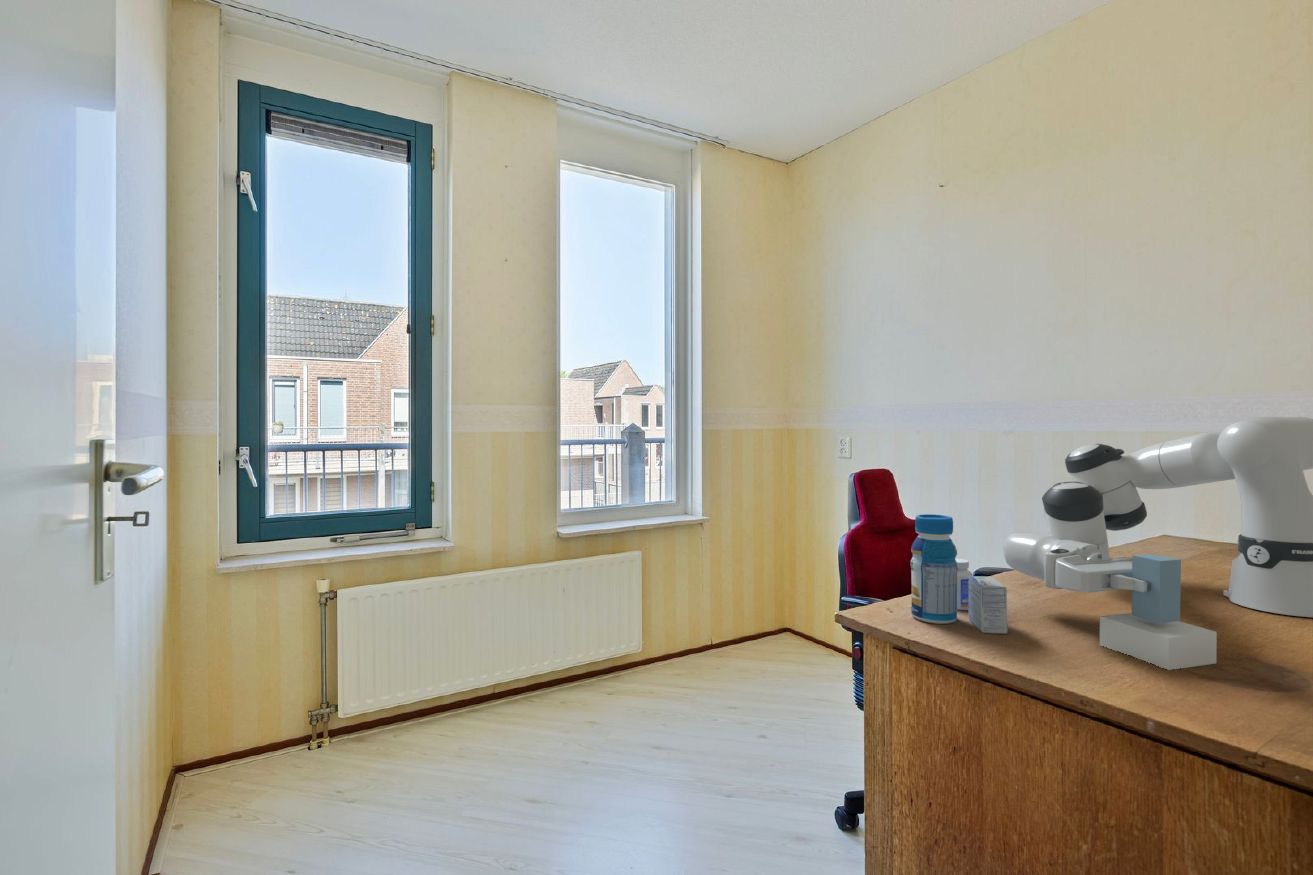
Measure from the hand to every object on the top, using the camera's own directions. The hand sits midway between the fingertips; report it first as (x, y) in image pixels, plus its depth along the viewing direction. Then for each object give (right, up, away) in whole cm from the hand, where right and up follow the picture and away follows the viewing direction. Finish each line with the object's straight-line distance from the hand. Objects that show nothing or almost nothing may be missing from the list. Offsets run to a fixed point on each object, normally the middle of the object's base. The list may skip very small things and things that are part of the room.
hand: (1161, 585), depth 98 cm
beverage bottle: (-28, -11, +20) cm, 36 cm away
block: (0, -5, +1) cm, 6 cm away
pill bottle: (-19, -11, +28) cm, 36 cm away
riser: (0, -11, +1) cm, 12 cm away
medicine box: (-20, -12, +15) cm, 28 cm away
